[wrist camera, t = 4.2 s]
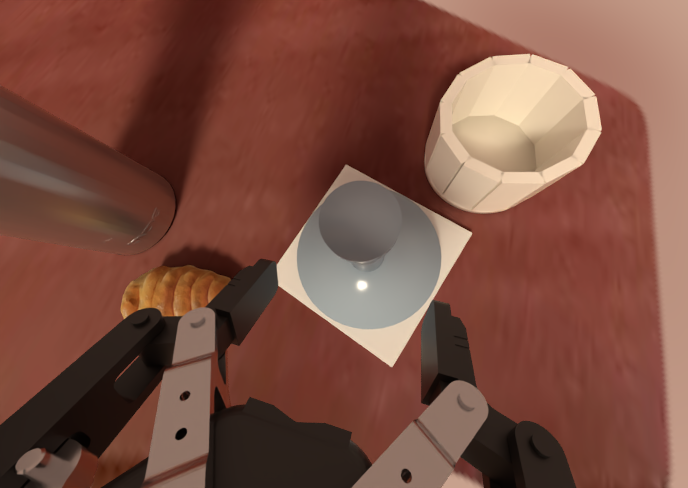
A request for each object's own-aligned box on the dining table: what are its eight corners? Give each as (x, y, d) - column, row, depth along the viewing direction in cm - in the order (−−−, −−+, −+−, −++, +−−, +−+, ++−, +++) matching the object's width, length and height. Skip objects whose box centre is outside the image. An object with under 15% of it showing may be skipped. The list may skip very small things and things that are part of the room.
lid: (275, 276, 22) (187, 258, 12) (347, 170, 24) (326, 71, 13) (389, 358, 20) (406, 428, 9) (464, 234, 21) (552, 174, 11)
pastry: (246, 263, 24) (223, 257, 20) (244, 337, 22) (218, 346, 19) (157, 269, 25) (119, 265, 21) (150, 340, 23) (107, 349, 20)
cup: (403, 180, 23) (413, 141, 17) (456, 98, 24) (482, 36, 18) (506, 234, 21) (557, 211, 15) (559, 142, 22) (626, 87, 16)
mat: (269, 278, 23) (267, 277, 22) (346, 166, 24) (346, 164, 24) (391, 366, 20) (392, 367, 20) (470, 234, 21) (472, 233, 21)
